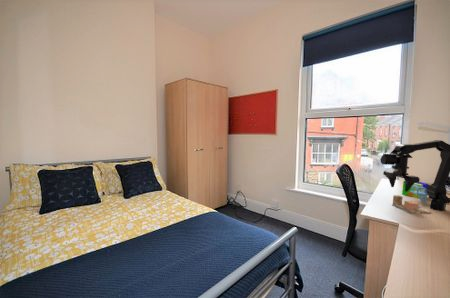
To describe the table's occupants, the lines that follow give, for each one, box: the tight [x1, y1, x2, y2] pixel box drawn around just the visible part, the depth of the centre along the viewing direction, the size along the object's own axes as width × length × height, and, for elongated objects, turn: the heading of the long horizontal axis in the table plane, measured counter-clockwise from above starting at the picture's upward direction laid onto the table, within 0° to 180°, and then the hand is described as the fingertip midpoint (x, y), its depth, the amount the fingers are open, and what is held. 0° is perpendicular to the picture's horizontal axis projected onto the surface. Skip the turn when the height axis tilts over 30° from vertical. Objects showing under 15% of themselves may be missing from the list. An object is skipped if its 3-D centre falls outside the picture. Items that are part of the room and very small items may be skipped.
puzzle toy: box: [401, 181, 429, 200], centre depth 151 cm, size 10×10×10 cm
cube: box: [403, 200, 420, 211], centre depth 121 cm, size 4×4×4 cm
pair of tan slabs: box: [418, 207, 431, 214], centre depth 124 cm, size 5×11×1 cm, turn 4°
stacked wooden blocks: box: [392, 194, 421, 214], centre depth 124 cm, size 5×13×6 cm, turn 4°
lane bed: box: [391, 203, 432, 214], centre depth 128 cm, size 13×20×2 cm, turn 4°
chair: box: [410, 185, 429, 203], centre depth 137 cm, size 8×8×12 cm
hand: (399, 189), depth 127 cm, fingers open, 9 cm apart
